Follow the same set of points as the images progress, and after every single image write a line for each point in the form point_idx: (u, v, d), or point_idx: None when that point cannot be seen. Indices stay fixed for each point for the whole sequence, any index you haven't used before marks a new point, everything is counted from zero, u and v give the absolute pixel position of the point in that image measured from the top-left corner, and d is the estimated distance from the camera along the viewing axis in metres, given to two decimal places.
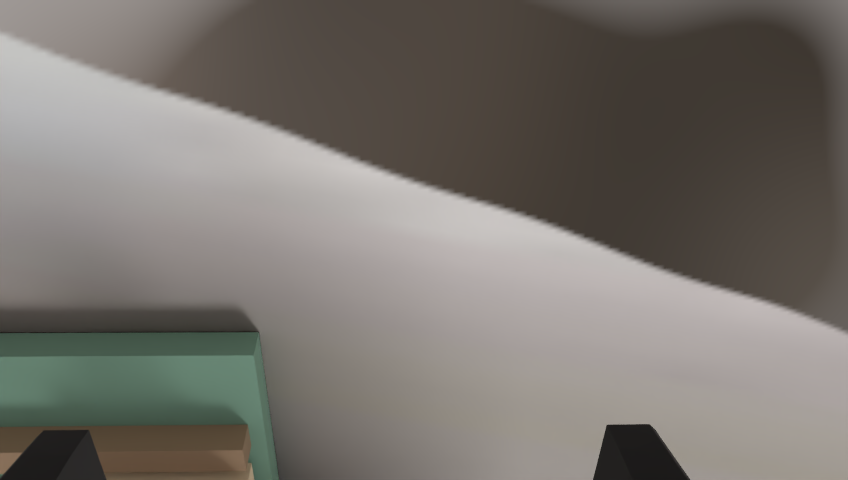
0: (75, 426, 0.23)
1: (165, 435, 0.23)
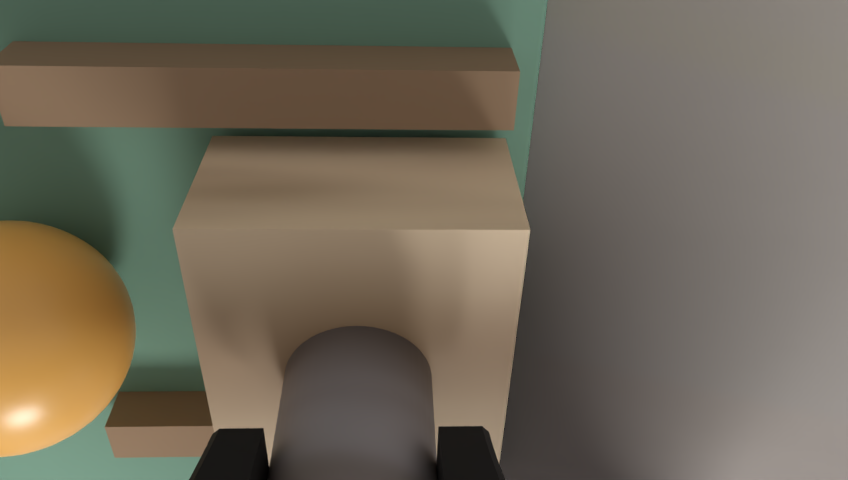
0: (182, 43, 0.12)
1: (360, 55, 0.12)
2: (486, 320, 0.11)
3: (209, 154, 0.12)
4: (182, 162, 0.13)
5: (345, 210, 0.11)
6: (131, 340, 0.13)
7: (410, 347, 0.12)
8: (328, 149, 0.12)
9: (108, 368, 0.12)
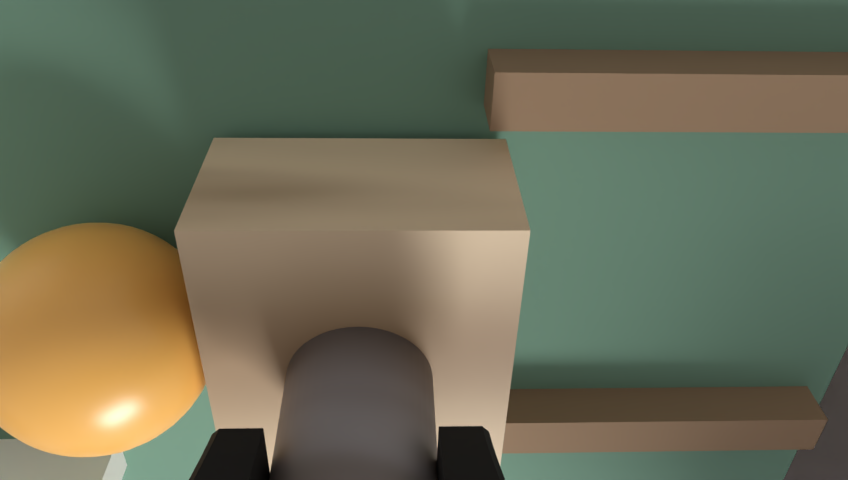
0: (648, 50, 0.12)
1: (828, 60, 0.12)
2: (487, 320, 0.11)
3: (210, 156, 0.12)
4: (606, 165, 0.13)
5: (346, 211, 0.11)
6: None
7: (411, 347, 0.12)
8: (329, 150, 0.12)
9: None
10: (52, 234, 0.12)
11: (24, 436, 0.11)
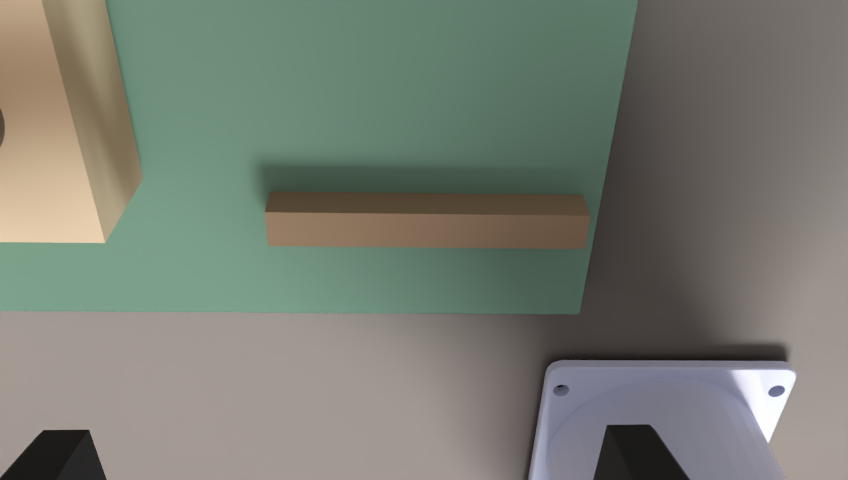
0: None
1: None
2: (25, 47, 0.13)
3: None
4: None
5: None
6: None
7: None
8: None
9: None
10: None
11: None
